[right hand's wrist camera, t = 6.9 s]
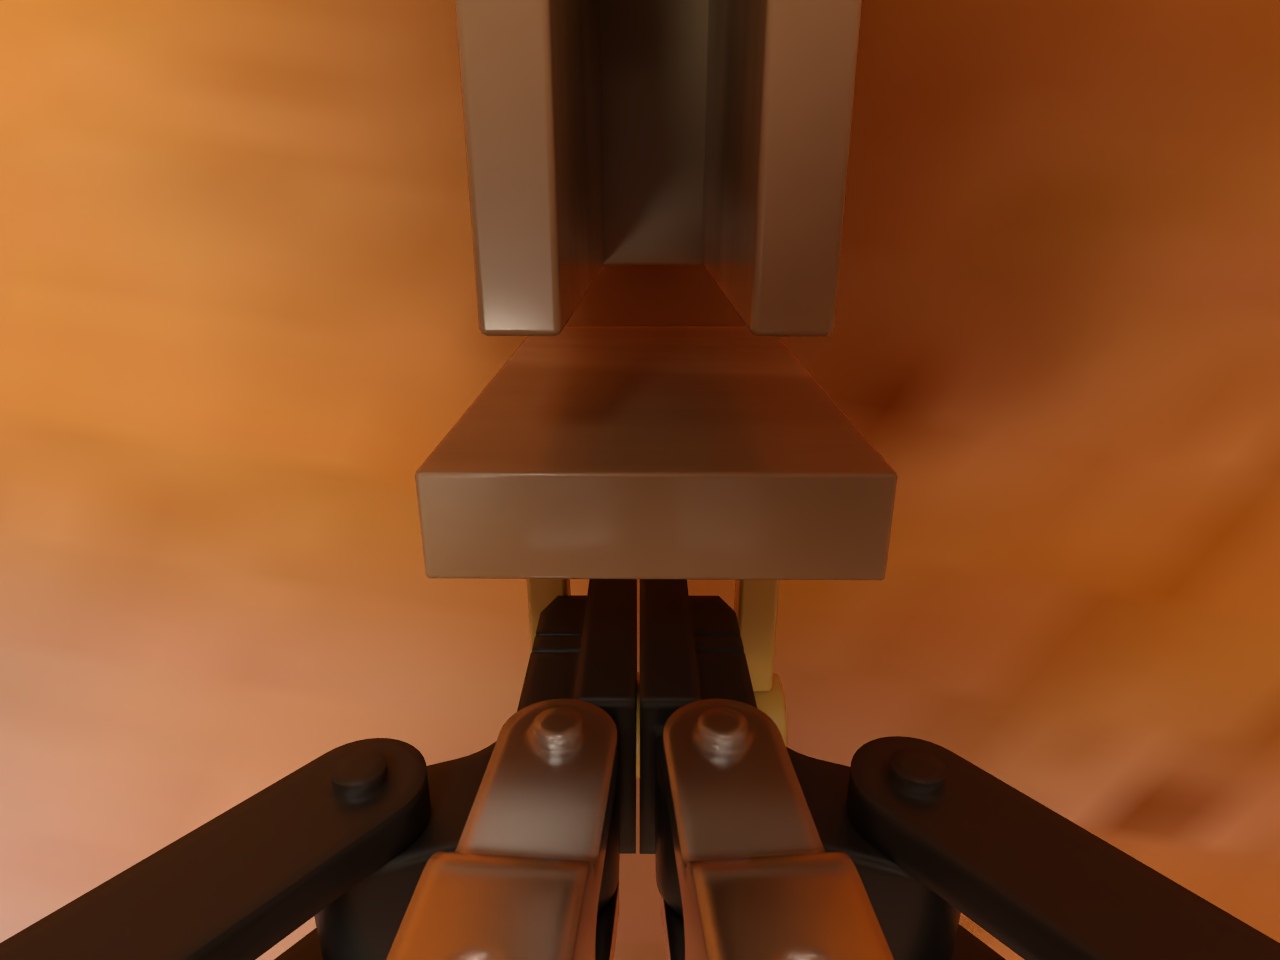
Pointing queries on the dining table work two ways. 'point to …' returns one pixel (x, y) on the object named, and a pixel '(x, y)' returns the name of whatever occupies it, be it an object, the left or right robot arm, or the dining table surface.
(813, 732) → the dining table surface
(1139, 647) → the dining table surface
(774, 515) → the drawer
